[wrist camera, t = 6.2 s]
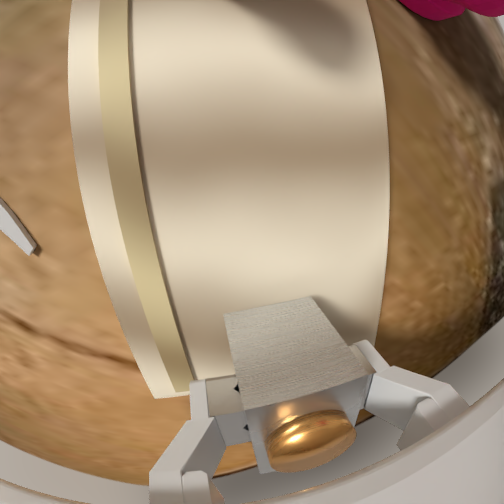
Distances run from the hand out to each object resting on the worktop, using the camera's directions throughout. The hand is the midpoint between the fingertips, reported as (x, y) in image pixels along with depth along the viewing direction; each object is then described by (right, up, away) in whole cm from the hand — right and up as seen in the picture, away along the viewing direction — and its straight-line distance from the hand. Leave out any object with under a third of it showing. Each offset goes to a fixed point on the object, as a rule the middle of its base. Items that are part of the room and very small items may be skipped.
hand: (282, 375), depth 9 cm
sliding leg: (0, +1, +2) cm, 2 cm away
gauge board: (-2, +8, +1) cm, 9 cm away
